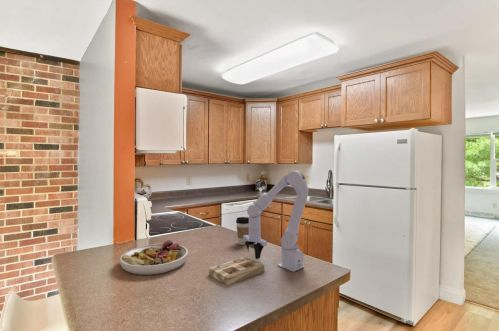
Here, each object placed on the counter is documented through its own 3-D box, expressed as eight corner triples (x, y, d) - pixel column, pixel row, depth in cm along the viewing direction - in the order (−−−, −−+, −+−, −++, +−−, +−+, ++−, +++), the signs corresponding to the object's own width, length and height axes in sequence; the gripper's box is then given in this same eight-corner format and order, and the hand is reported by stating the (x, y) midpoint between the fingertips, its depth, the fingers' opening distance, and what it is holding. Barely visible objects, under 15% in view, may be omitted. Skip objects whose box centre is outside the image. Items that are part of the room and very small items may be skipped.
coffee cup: (244, 246, 155) (244, 219, 154) (232, 243, 160) (233, 217, 160) (253, 242, 162) (253, 217, 161) (242, 240, 167) (242, 215, 166)
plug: (260, 261, 133) (260, 245, 132) (254, 263, 130) (254, 246, 130) (254, 259, 136) (254, 243, 135) (248, 261, 133) (248, 244, 133)
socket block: (264, 271, 121) (264, 264, 121) (227, 285, 108) (227, 277, 108) (244, 263, 131) (244, 256, 130) (209, 274, 117) (209, 267, 117)
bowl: (169, 281, 112) (168, 261, 112) (104, 274, 118) (104, 256, 118) (197, 255, 142) (197, 240, 141) (144, 251, 148) (144, 236, 147)
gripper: (238, 227, 135) (238, 255, 135) (259, 233, 124) (258, 263, 125) (249, 225, 140) (249, 251, 140) (270, 231, 129) (269, 259, 129)
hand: (254, 257), depth 133 cm, fingers closed on plug, 4 cm apart
